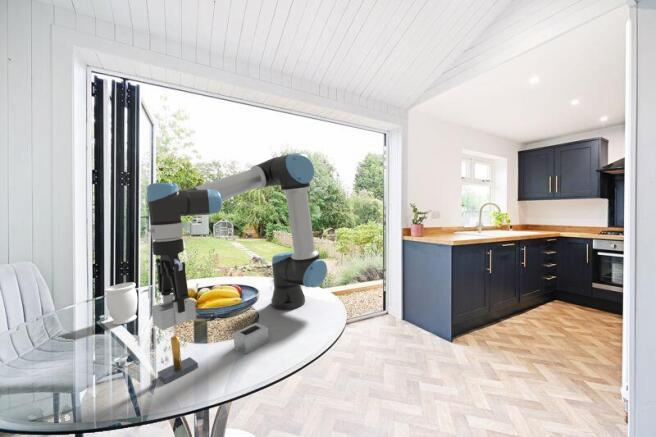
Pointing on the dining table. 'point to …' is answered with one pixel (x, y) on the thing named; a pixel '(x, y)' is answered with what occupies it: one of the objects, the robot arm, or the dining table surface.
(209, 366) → the dining table surface
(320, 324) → the dining table surface
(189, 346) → the dining table surface
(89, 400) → the dining table surface
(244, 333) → the grey slotted holder
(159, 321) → the grey rectangular block
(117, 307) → the jar
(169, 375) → the grey base with post
